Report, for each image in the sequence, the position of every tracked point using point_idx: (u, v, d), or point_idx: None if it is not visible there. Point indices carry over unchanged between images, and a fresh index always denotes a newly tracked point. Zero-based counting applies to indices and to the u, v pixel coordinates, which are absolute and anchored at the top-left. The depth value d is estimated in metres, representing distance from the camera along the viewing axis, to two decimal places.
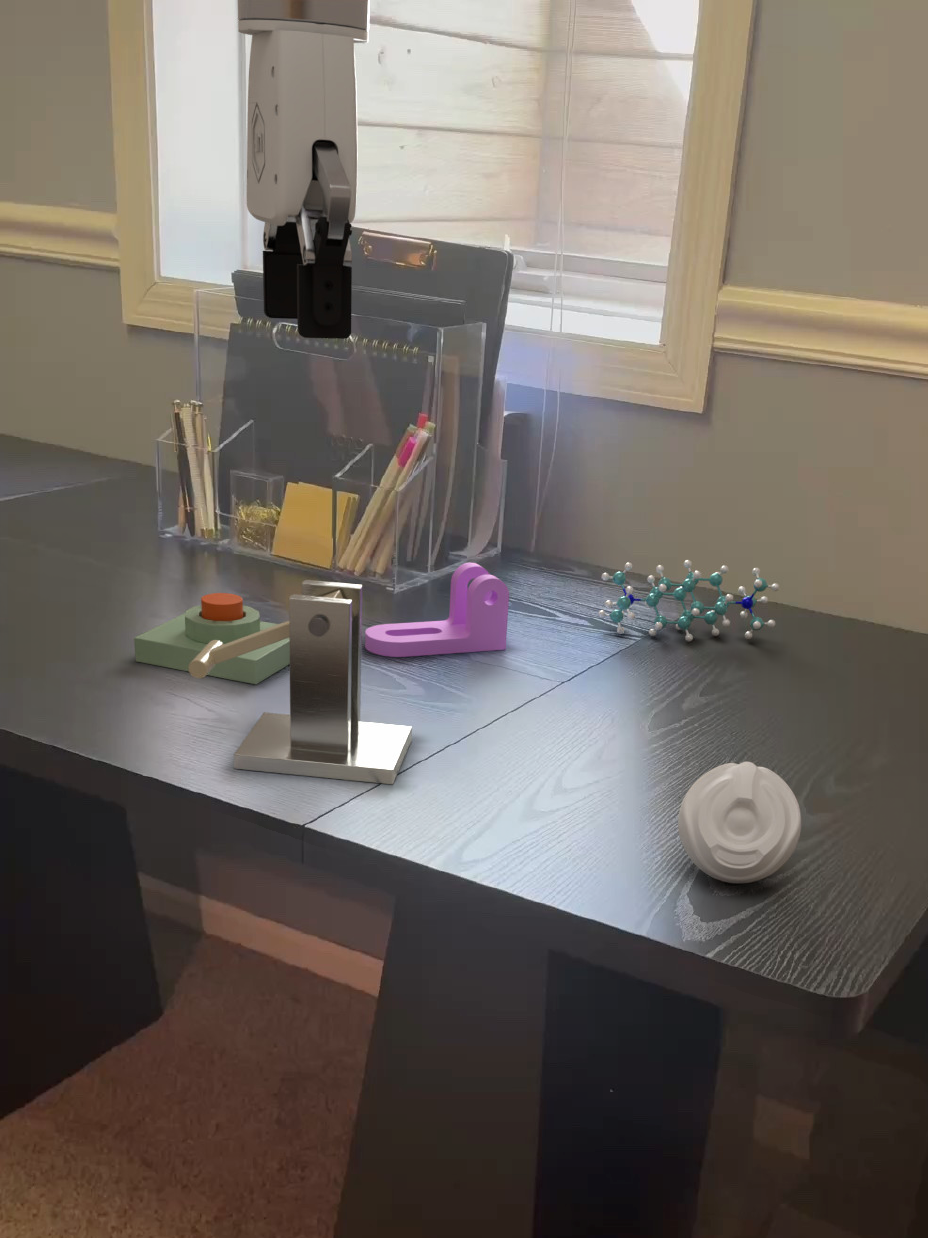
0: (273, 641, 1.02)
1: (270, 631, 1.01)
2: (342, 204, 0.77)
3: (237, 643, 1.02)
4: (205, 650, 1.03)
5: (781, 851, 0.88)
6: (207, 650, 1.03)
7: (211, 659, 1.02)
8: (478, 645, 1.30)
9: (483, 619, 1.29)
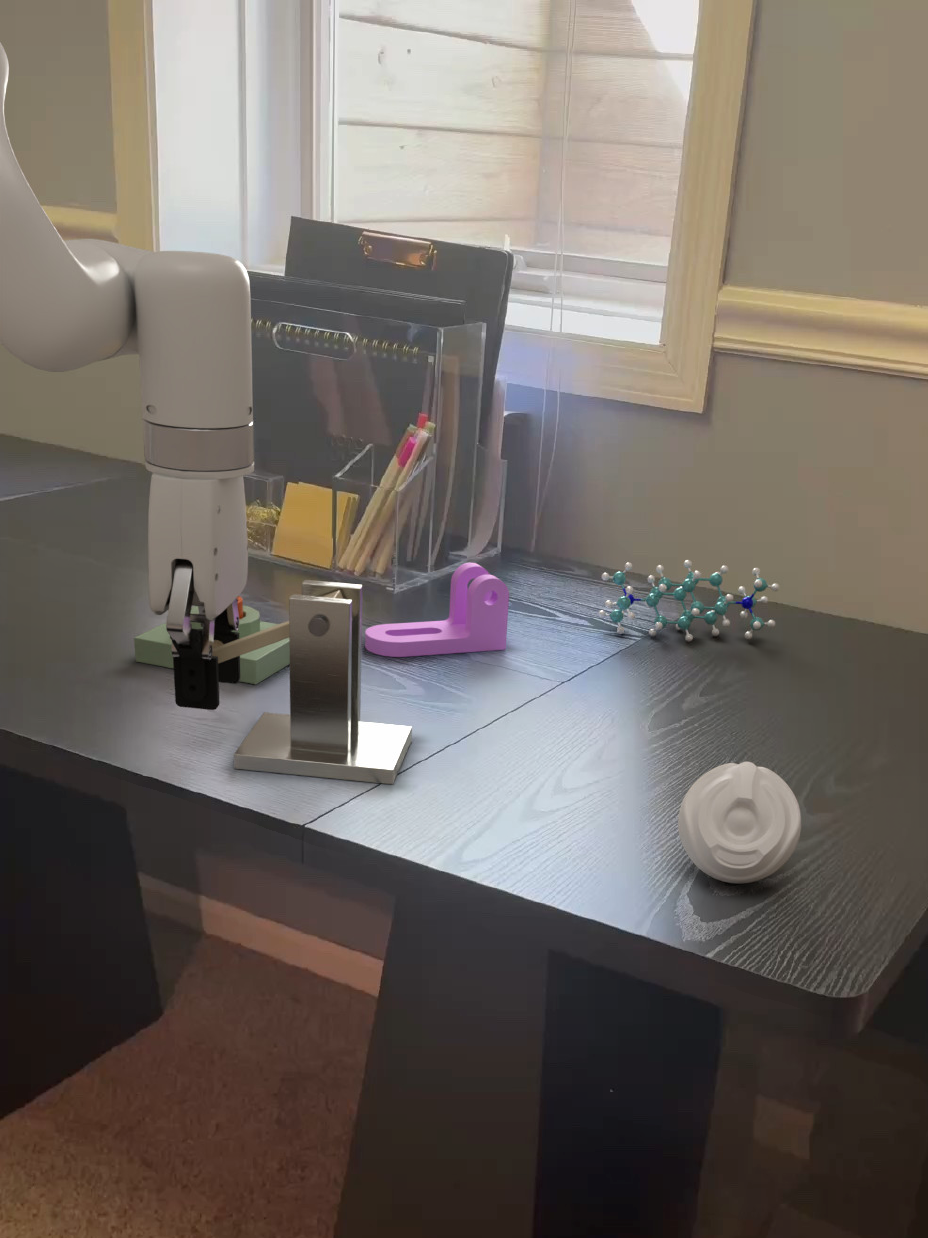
0: (273, 641, 1.02)
1: (270, 631, 1.01)
2: (179, 635, 0.96)
3: (237, 643, 1.02)
4: None
5: (781, 851, 0.88)
6: None
7: None
8: (478, 645, 1.30)
9: (483, 619, 1.29)
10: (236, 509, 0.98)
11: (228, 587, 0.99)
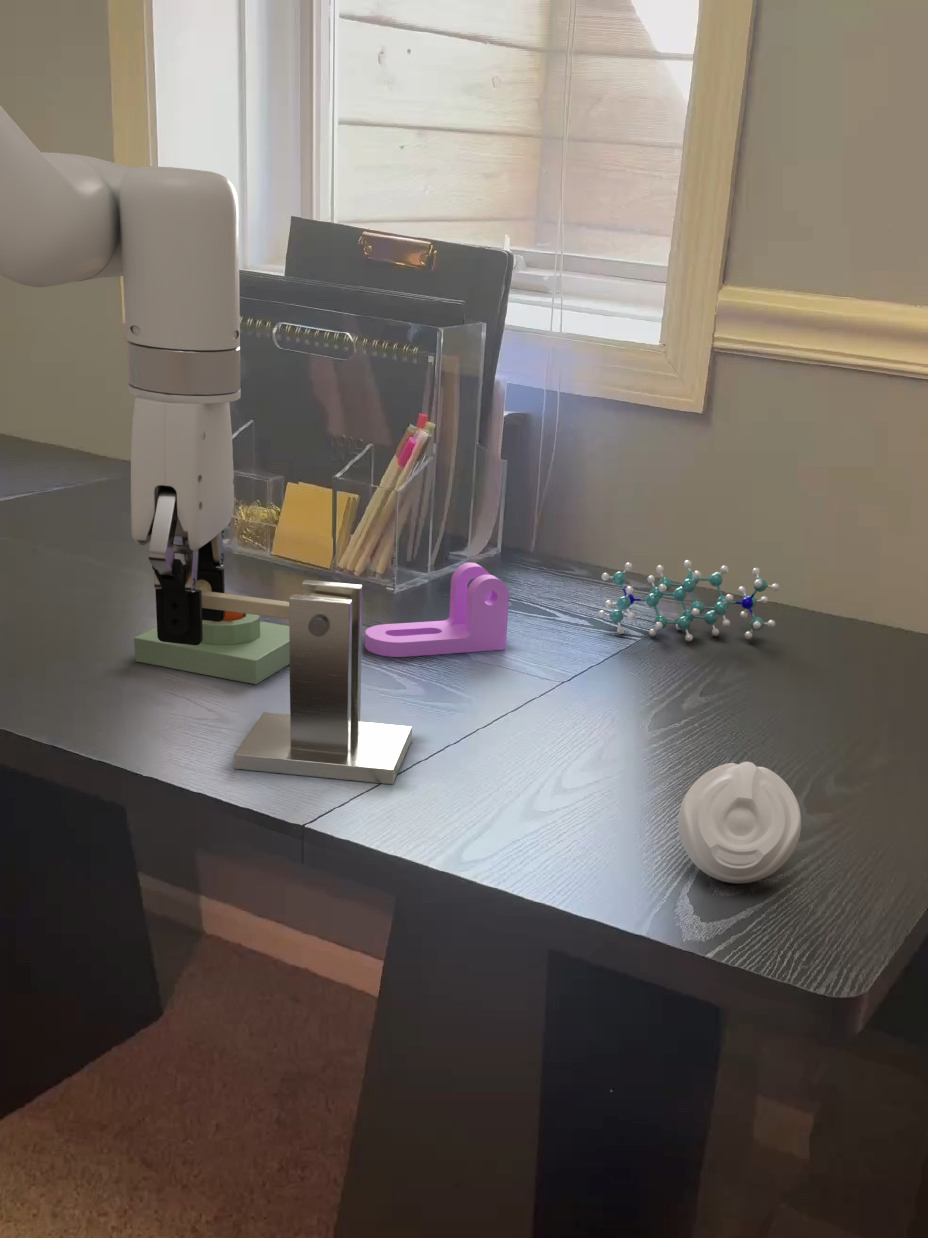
0: (265, 614, 1.01)
1: (266, 604, 1.01)
2: (161, 563, 0.93)
3: (230, 599, 1.01)
4: None
5: (781, 851, 0.88)
6: None
7: None
8: (478, 645, 1.30)
9: (483, 619, 1.29)
10: (222, 438, 0.96)
11: (213, 518, 0.97)
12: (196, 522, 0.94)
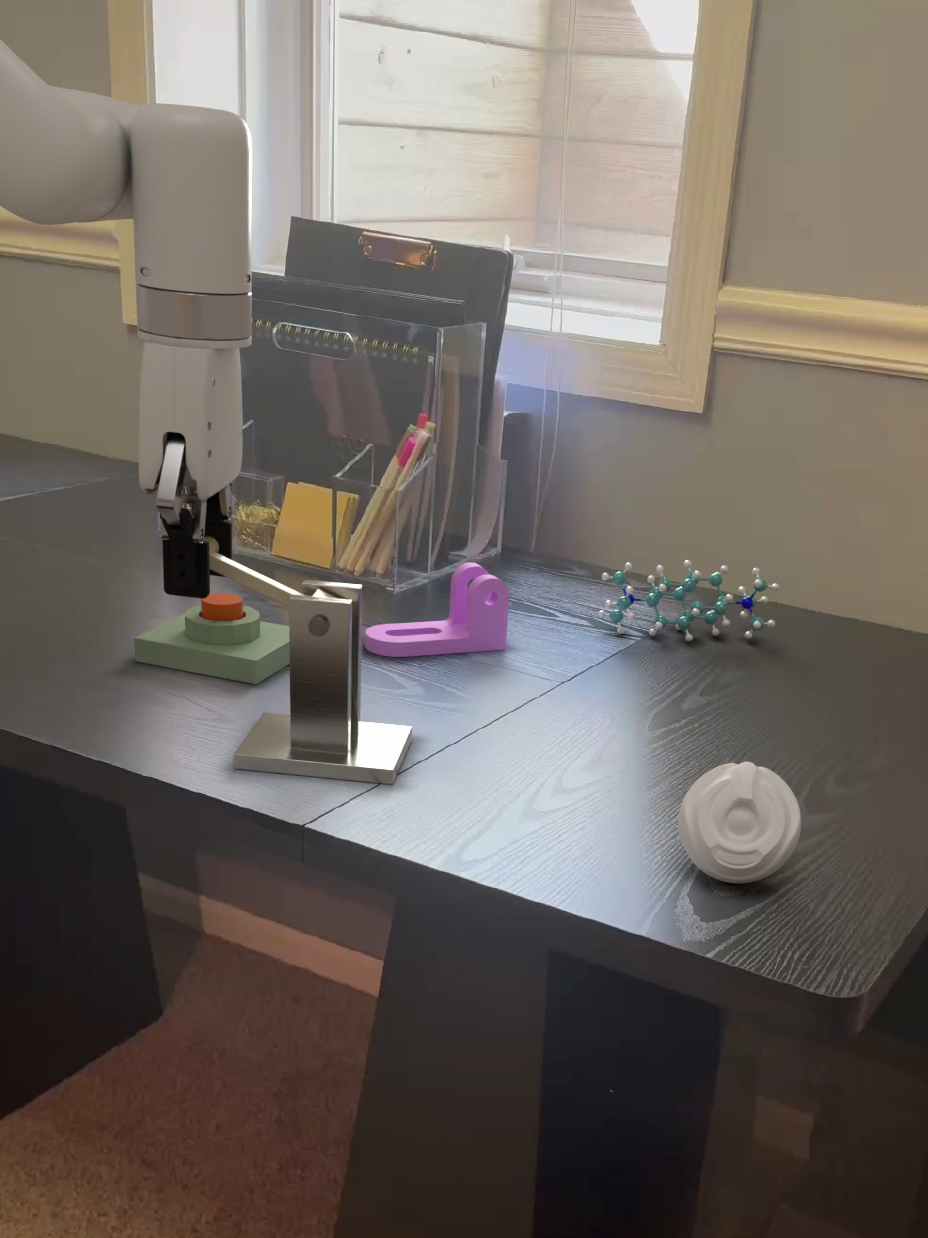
0: (267, 594, 1.00)
1: (272, 586, 1.00)
2: (169, 512, 0.92)
3: (237, 569, 0.99)
4: None
5: (781, 851, 0.88)
6: None
7: None
8: (478, 645, 1.30)
9: (483, 619, 1.29)
10: (232, 386, 0.94)
11: (221, 468, 0.95)
12: (205, 470, 0.92)
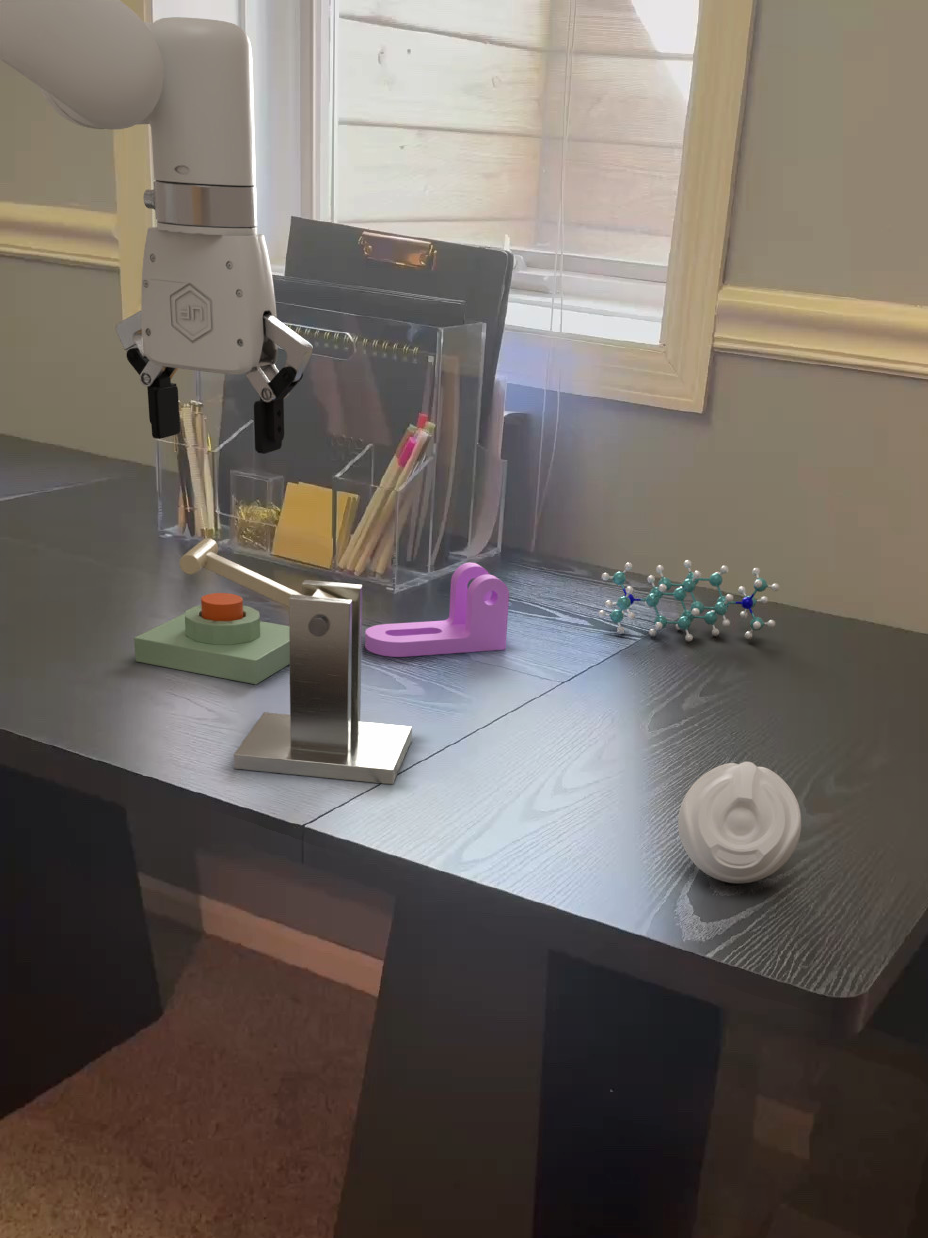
0: (267, 595, 1.00)
1: (271, 587, 1.00)
2: (307, 357, 1.07)
3: (236, 570, 1.00)
4: (204, 549, 0.99)
5: (781, 851, 0.88)
6: (206, 551, 0.99)
7: (204, 563, 0.99)
8: (478, 645, 1.30)
9: (483, 619, 1.29)
10: None
11: None
12: None
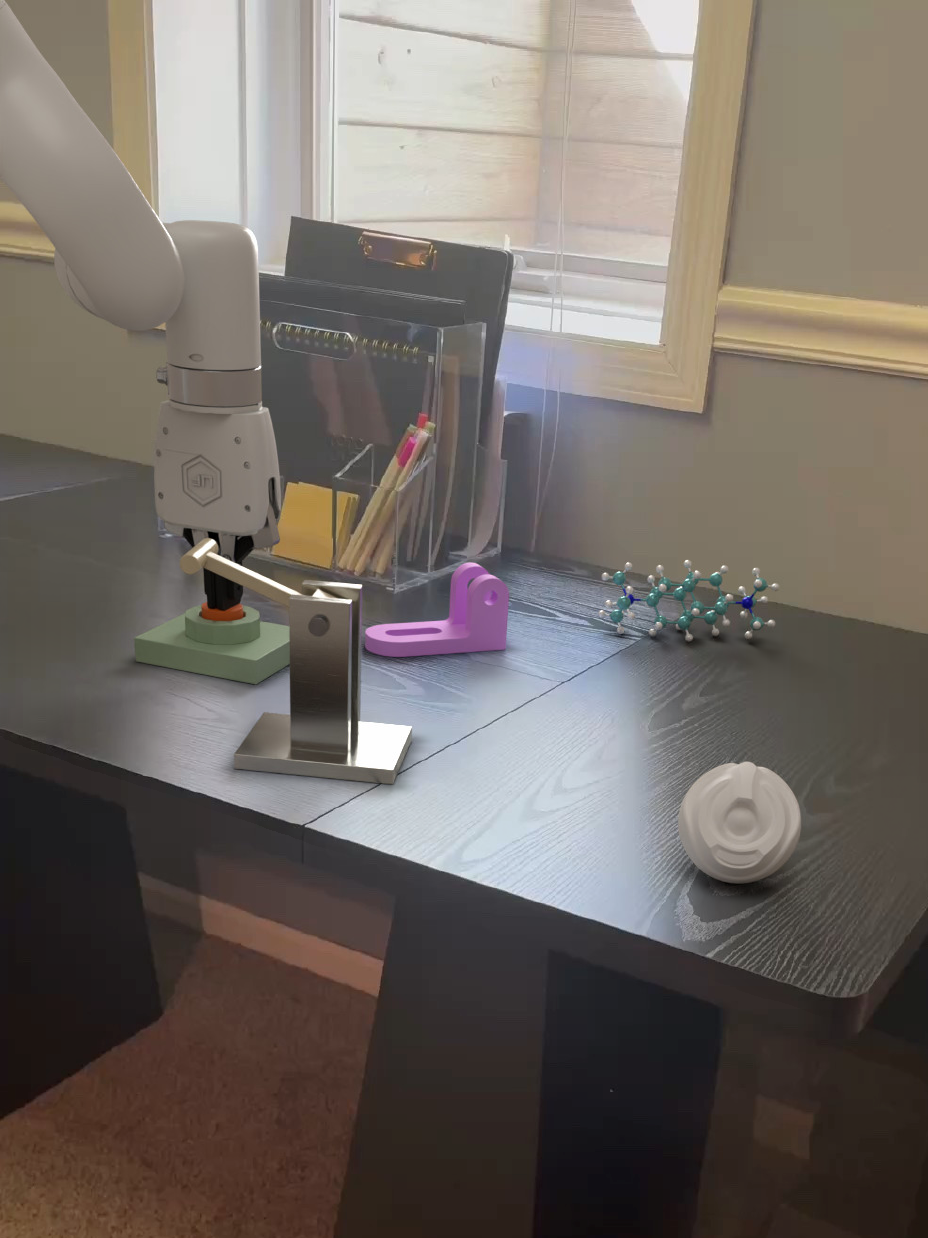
0: (267, 595, 1.00)
1: (271, 587, 1.00)
2: None
3: (236, 570, 1.00)
4: (204, 549, 0.99)
5: (781, 851, 0.88)
6: (206, 551, 0.99)
7: (204, 563, 0.99)
8: (478, 645, 1.30)
9: (483, 619, 1.29)
10: None
11: None
12: None
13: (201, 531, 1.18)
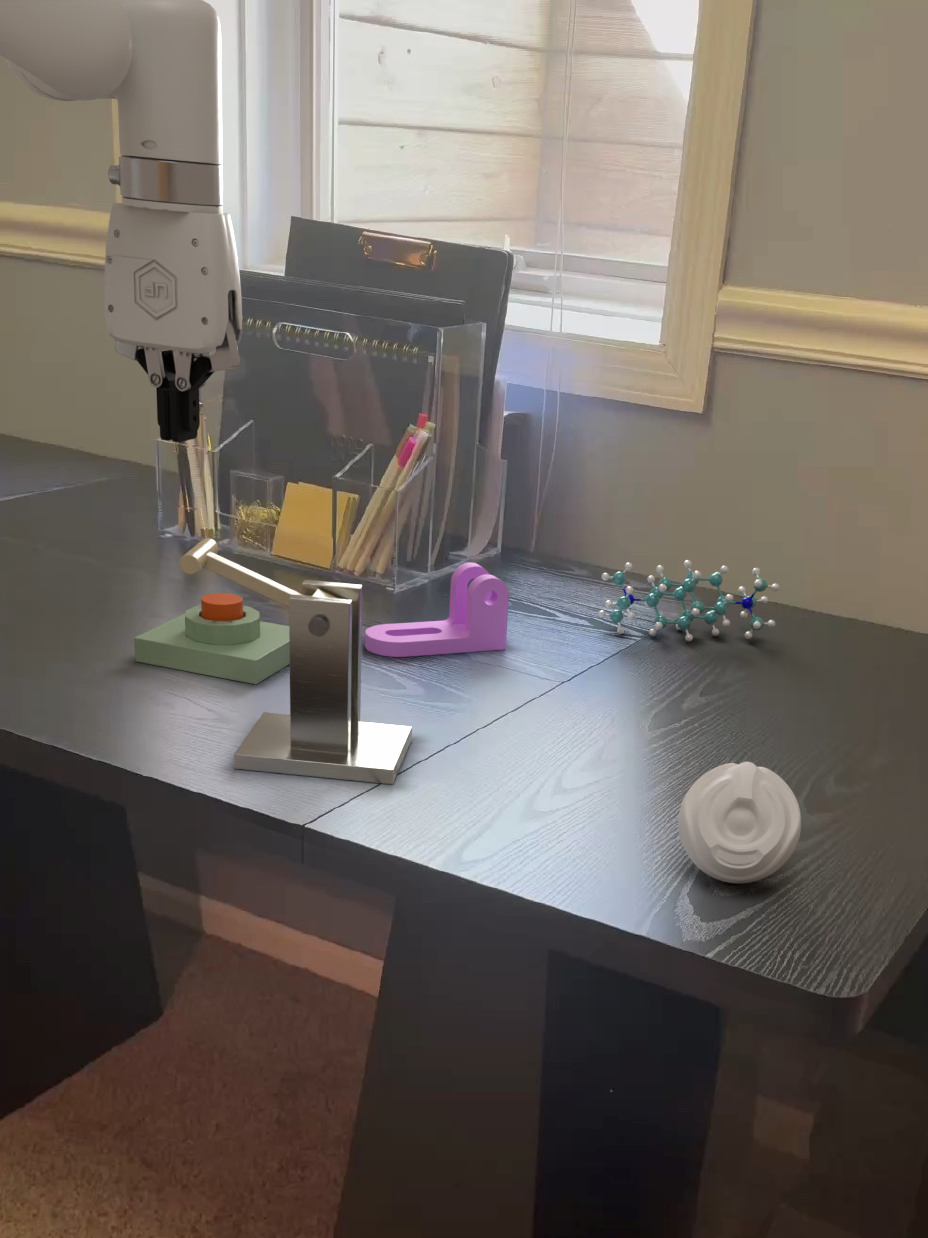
0: (267, 595, 1.00)
1: (271, 587, 1.00)
2: None
3: (236, 570, 1.00)
4: (204, 549, 0.99)
5: (781, 851, 0.88)
6: (206, 551, 0.99)
7: (204, 563, 0.99)
8: (478, 645, 1.30)
9: (483, 619, 1.29)
10: None
11: None
12: None
13: (154, 351, 1.09)
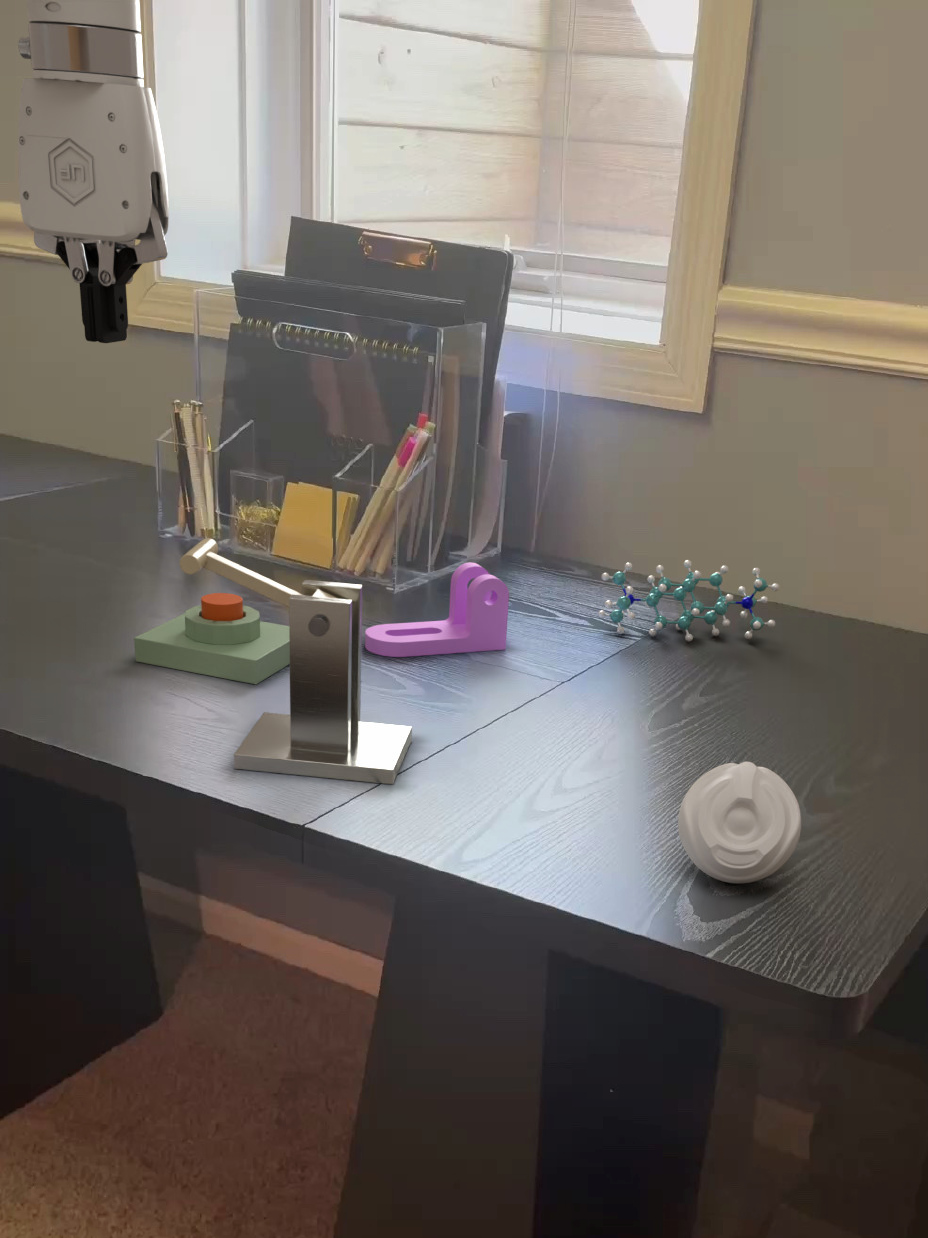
0: (267, 595, 1.00)
1: (271, 587, 1.00)
2: (155, 260, 1.01)
3: (236, 570, 1.00)
4: (204, 549, 0.99)
5: (781, 851, 0.88)
6: (206, 551, 0.99)
7: (204, 563, 0.99)
8: (478, 645, 1.30)
9: (483, 619, 1.29)
10: None
11: None
12: None
13: (75, 243, 1.01)
